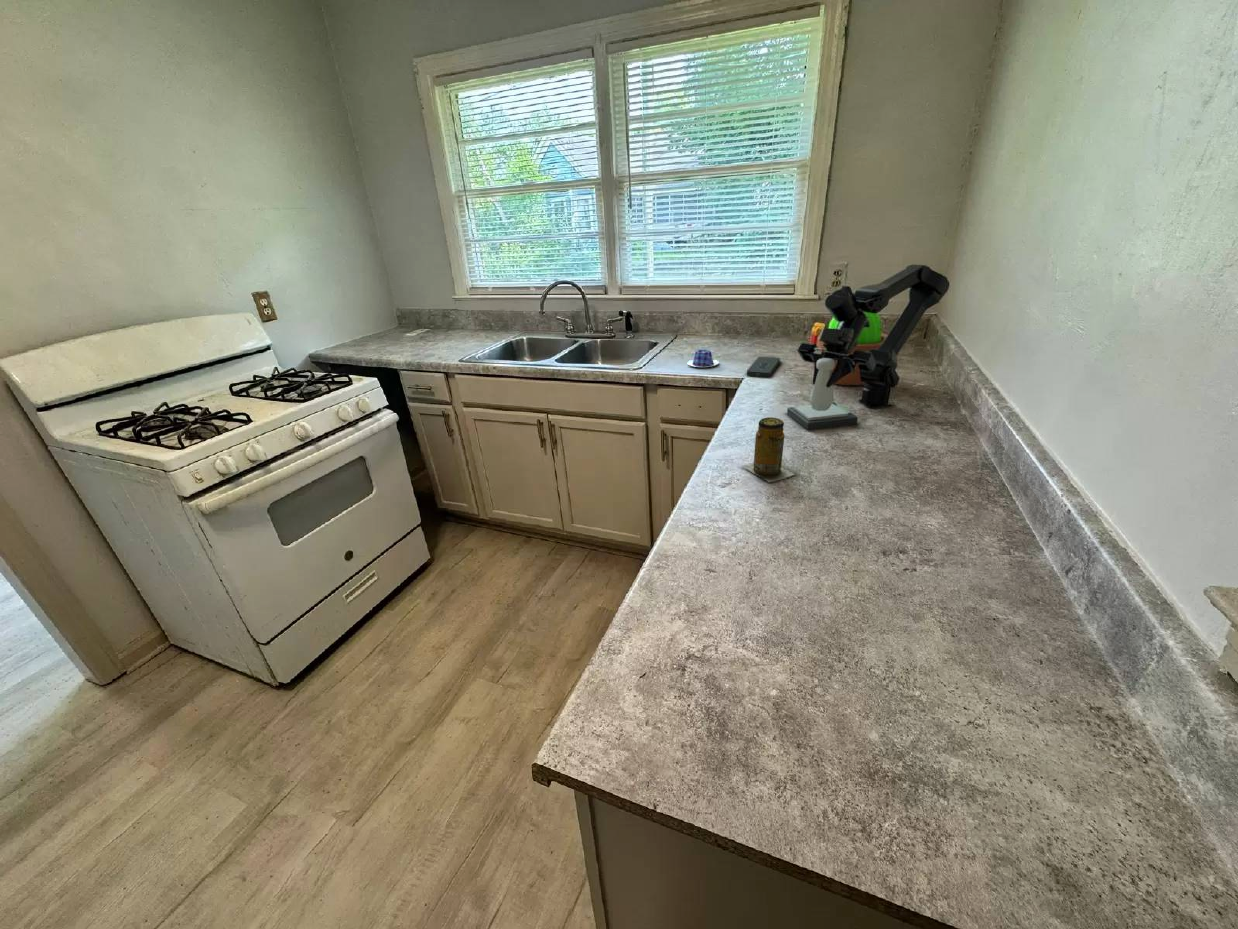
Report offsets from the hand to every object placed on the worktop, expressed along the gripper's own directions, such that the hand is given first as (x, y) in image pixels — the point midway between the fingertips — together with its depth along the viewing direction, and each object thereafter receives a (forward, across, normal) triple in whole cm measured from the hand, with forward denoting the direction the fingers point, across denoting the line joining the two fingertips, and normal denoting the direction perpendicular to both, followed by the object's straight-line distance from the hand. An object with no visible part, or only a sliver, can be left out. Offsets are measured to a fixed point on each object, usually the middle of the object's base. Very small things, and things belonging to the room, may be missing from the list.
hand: (820, 385), depth 125 cm
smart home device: (-18, -42, +36) cm, 58 cm away
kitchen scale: (+4, -2, +14) cm, 14 cm away
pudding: (-12, -63, +30) cm, 71 cm away
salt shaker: (+4, 0, +6) cm, 7 cm away
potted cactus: (-23, -14, +41) cm, 49 cm away
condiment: (+28, +5, -12) cm, 31 cm away
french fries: (-34, -35, +52) cm, 71 cm away
